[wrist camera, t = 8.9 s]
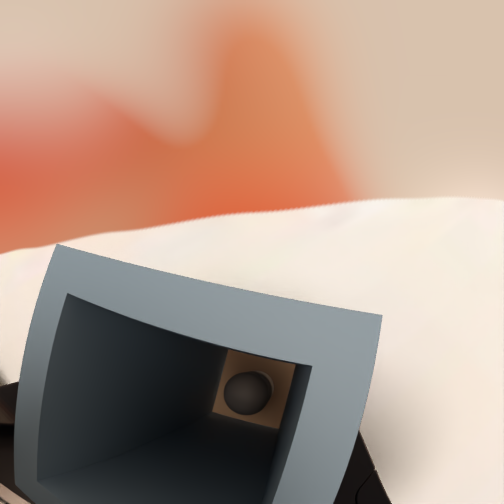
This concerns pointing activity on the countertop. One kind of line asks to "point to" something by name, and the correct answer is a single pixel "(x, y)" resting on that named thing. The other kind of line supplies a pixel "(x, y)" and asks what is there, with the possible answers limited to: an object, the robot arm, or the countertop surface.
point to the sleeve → (180, 390)
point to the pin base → (256, 362)
